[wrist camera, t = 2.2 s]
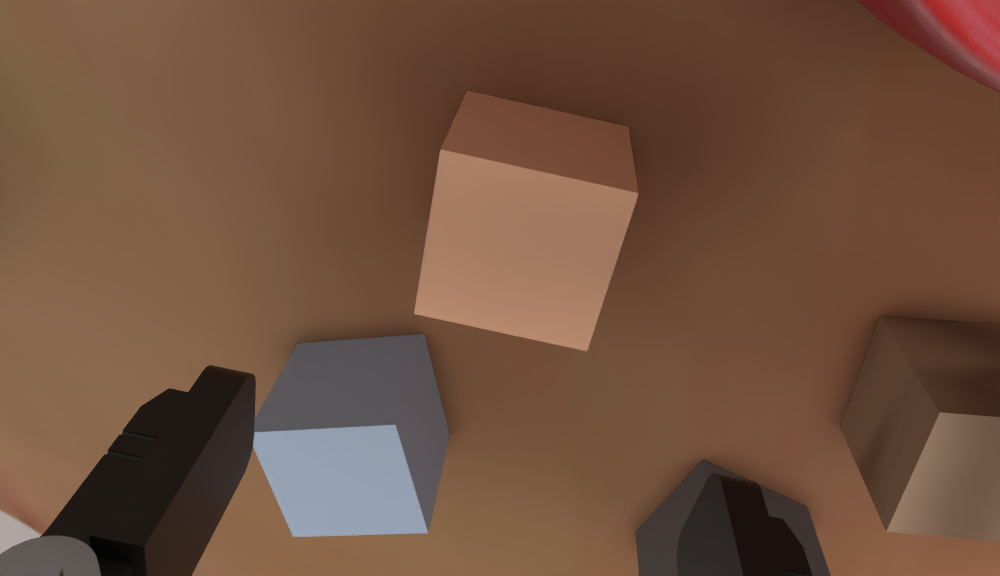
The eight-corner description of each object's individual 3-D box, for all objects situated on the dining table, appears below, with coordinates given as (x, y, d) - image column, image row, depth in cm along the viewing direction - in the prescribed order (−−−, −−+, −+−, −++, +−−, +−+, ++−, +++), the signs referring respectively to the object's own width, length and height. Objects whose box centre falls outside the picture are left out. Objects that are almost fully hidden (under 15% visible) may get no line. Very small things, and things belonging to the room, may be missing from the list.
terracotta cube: (627, 125, 22) (639, 193, 18) (586, 263, 25) (586, 351, 21) (467, 89, 22) (440, 149, 18) (442, 232, 25) (414, 313, 20)
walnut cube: (1031, 325, 24) (1126, 427, 20) (977, 435, 27) (1050, 546, 23) (878, 314, 25) (939, 412, 21) (839, 424, 27) (886, 531, 23)
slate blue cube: (424, 332, 27) (395, 424, 23) (449, 433, 29) (428, 533, 25) (298, 342, 28) (247, 432, 24) (333, 439, 30) (293, 537, 26)
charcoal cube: (806, 504, 30) (843, 615, 25) (732, 571, 32) (755, 682, 28) (702, 458, 29) (723, 563, 25) (635, 530, 31) (644, 637, 27)
